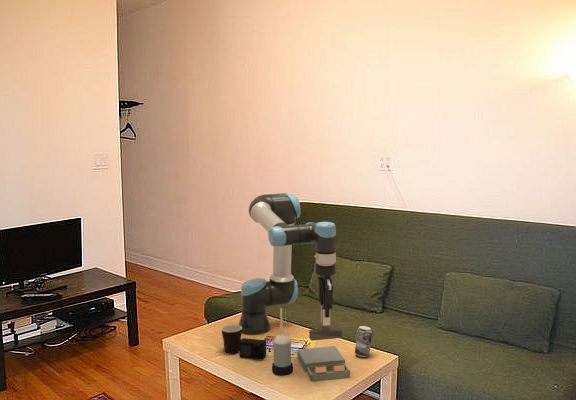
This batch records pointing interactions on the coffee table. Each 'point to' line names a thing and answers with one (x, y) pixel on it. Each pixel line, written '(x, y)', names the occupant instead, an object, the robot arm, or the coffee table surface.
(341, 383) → the coffee table surface
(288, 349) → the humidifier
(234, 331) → the coffee mug
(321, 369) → the tile
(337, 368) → the tile
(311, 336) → the scraper
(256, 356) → the digital camera
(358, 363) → the coffee table surface
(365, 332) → the beverage can
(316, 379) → the box
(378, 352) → the coffee table surface
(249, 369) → the coffee table surface
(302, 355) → the grey flat block
